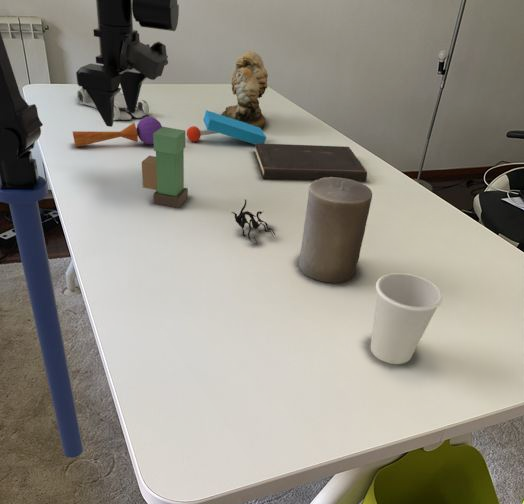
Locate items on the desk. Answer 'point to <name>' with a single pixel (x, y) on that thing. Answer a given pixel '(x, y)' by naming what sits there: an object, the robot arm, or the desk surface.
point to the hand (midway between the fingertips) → (121, 119)
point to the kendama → (121, 133)
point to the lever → (227, 129)
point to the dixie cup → (402, 315)
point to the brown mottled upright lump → (248, 90)
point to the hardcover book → (308, 162)
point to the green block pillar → (166, 168)
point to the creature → (254, 223)
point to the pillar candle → (334, 228)
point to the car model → (116, 105)
